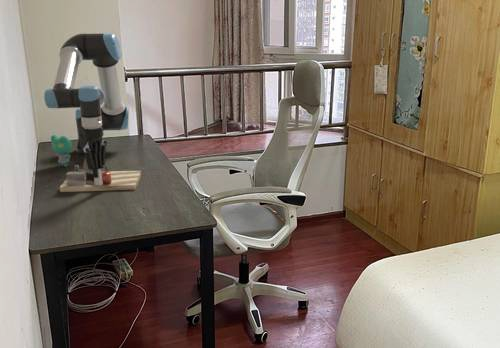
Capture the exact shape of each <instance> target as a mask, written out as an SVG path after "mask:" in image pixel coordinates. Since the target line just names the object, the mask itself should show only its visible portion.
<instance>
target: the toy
mask: <svg viewBox="0 0 500 348" xmlns="http://www.w3.org/2000/svg"><path fill="white" fill-rule="evenodd" d="M50 142H51V148H52V150H53V151H54V152H55V153H56V154H55V155H56V157H58V161H57V163H58V164H60V167H64V168H65V167H68V162H70V159H71V155H70V154H71V153H70V152H71V150H72V148H73V143H72V141H71V139H69V138H68V137H66V136H65V135H62V136H57V135H56V134H52V135H51V136H50Z"/></svg>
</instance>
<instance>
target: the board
mask: <svg viewBox="0 0 500 348" xmlns="http://www.w3.org/2000/svg"><path fill="white" fill-rule="evenodd" d="M104 169H105V171H102V173H103V172H110V175H111V183H110V184H102V185H95V182H94V181H91V180H86V172H77V170H80V165H79V164H74V165H73V170H74V171H67V173H65V180H64V181H63V183H62V184H61V185H60V186H59V192H60V193H66V192H67V193H68V192H69V193H73V192H95V191H96V192H98V191H99V192H100V191H102V192H103V191H125V190H126V191H127V190H128V191H129V190H131V191H133V190H137V187H138V184H139V182H140V179H141V177H142V170H121V171H119V170H117V171H109V166H108V164H105V165H104Z"/></svg>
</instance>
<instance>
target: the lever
mask: <svg viewBox="0 0 500 348" xmlns="http://www.w3.org/2000/svg"><path fill="white" fill-rule="evenodd" d="M77 172H86V180H91V181H94V177H93V171H89V170H84V168H81V169H80V168H79V170H77ZM102 172H103V173H102V182H103V184H110V183H111V175H110V172H111V171H108V172H105V171H102Z"/></svg>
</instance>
